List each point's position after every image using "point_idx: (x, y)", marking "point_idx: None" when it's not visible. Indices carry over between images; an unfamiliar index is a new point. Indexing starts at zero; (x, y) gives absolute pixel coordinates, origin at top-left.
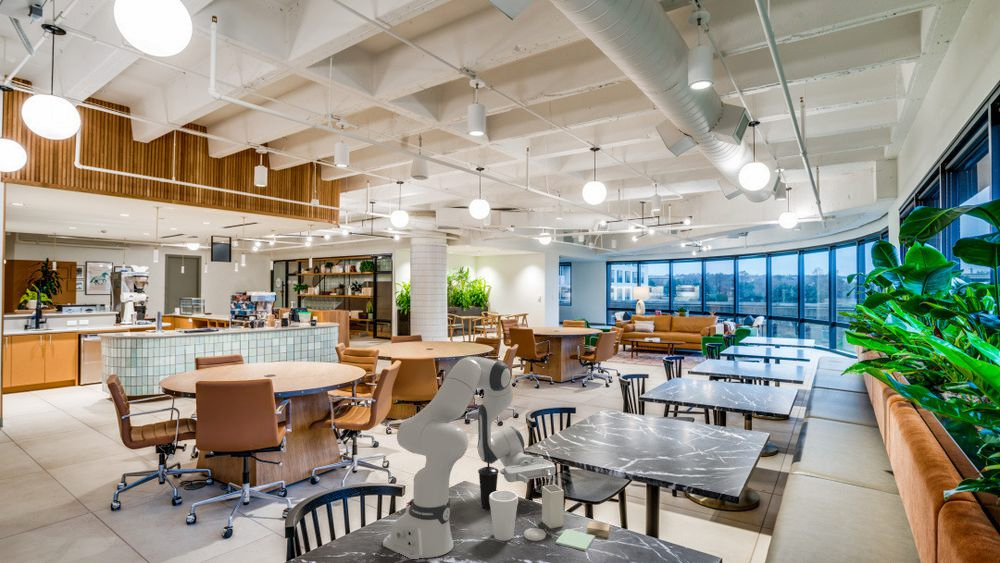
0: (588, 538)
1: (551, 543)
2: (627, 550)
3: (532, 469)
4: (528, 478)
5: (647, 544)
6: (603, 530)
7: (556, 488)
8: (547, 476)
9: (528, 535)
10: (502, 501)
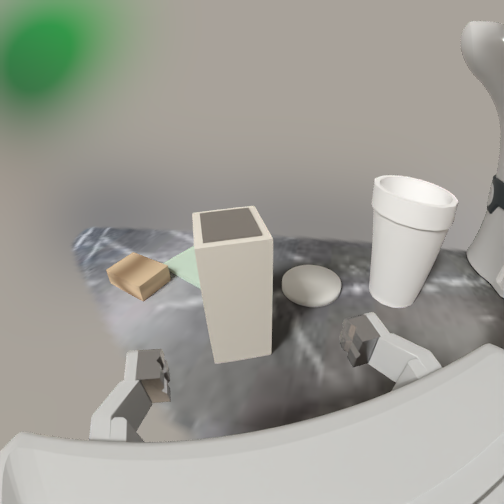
0: (184, 257)
1: (275, 260)
2: (141, 235)
3: (297, 425)
4: (346, 319)
5: (96, 244)
6: (140, 255)
7: (213, 219)
8: (163, 373)
9: (329, 273)
10: (407, 177)
